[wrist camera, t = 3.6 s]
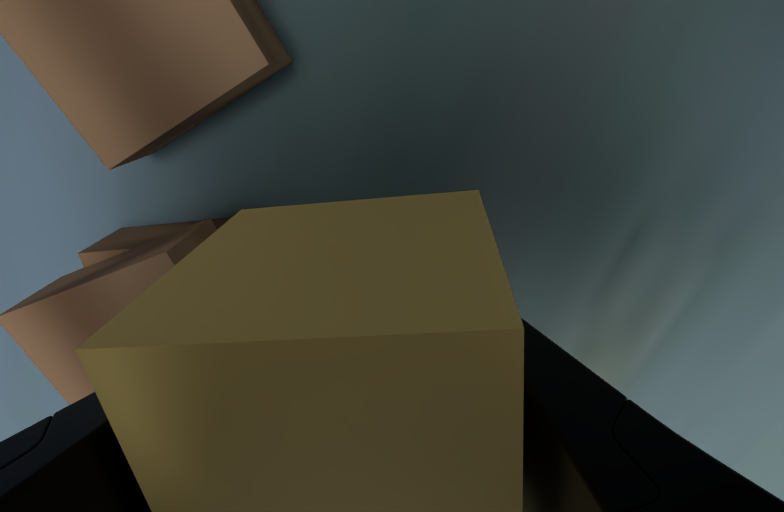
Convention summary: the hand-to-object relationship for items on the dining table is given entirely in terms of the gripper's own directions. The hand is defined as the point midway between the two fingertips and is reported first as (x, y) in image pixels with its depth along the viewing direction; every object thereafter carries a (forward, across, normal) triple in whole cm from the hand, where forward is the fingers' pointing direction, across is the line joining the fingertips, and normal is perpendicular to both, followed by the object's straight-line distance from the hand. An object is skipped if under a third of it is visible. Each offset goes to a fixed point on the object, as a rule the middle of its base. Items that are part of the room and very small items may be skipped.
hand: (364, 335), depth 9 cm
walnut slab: (+10, +8, -7) cm, 15 cm away
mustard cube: (+1, 0, 0) cm, 1 cm away
